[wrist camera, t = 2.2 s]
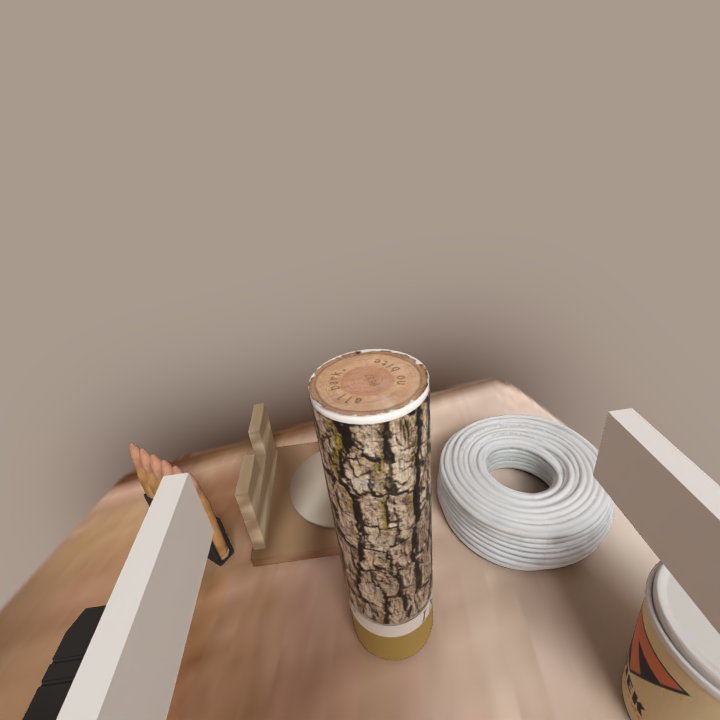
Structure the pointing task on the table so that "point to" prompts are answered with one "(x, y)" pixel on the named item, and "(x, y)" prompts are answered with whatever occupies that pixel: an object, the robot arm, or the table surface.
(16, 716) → the table surface
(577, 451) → the cable
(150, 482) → the ammunition clip
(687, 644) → the coffee cup
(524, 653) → the table surface
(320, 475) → the base
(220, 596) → the table surface
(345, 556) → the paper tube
